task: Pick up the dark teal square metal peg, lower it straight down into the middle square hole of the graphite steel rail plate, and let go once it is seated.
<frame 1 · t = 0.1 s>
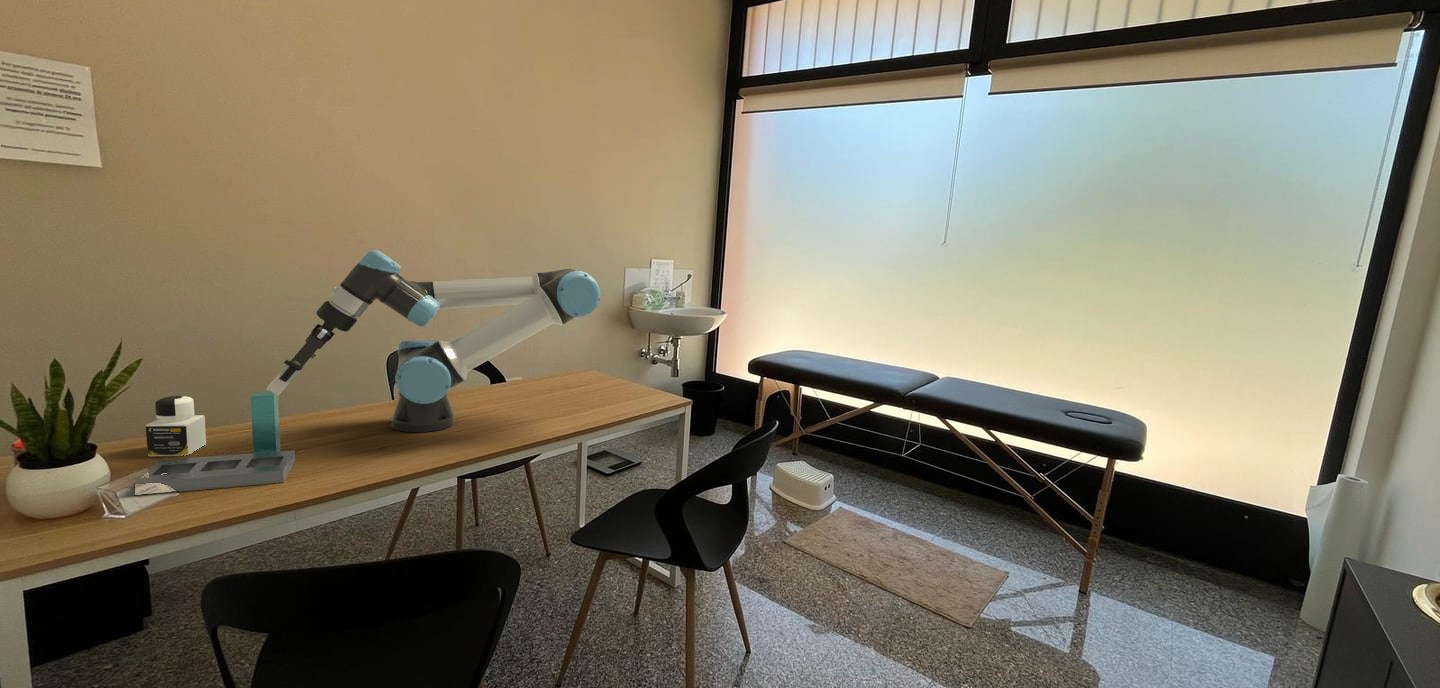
hand: (278, 384, 129), 15 cm above the table, tool tilted 35°, fingers open, 13 cm apart
peg: (267, 454, 128), on the table
rail: (222, 477, 116), on the table
medicine bottle: (178, 451, 127), on the table
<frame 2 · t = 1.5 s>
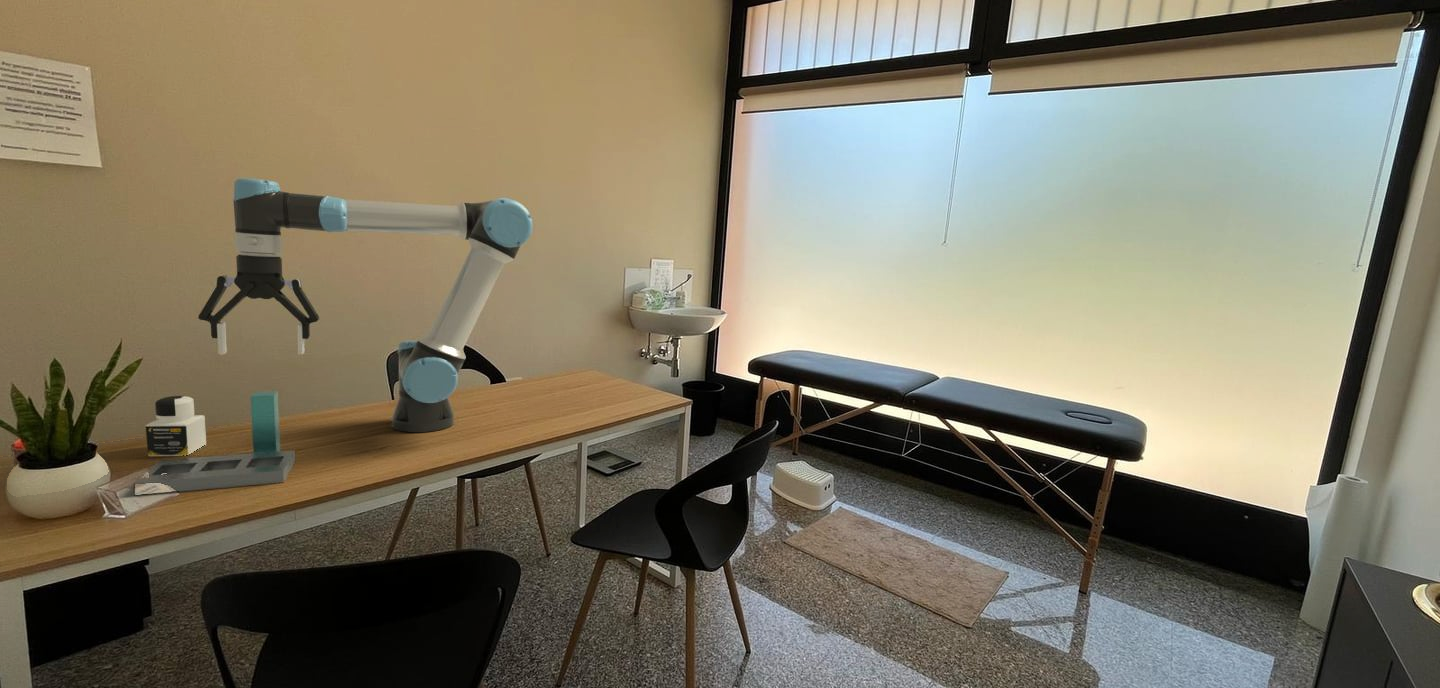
hand: (263, 353, 125), 23 cm above the table, tool pointing down, fingers open, 13 cm apart
nothing on the table moved.
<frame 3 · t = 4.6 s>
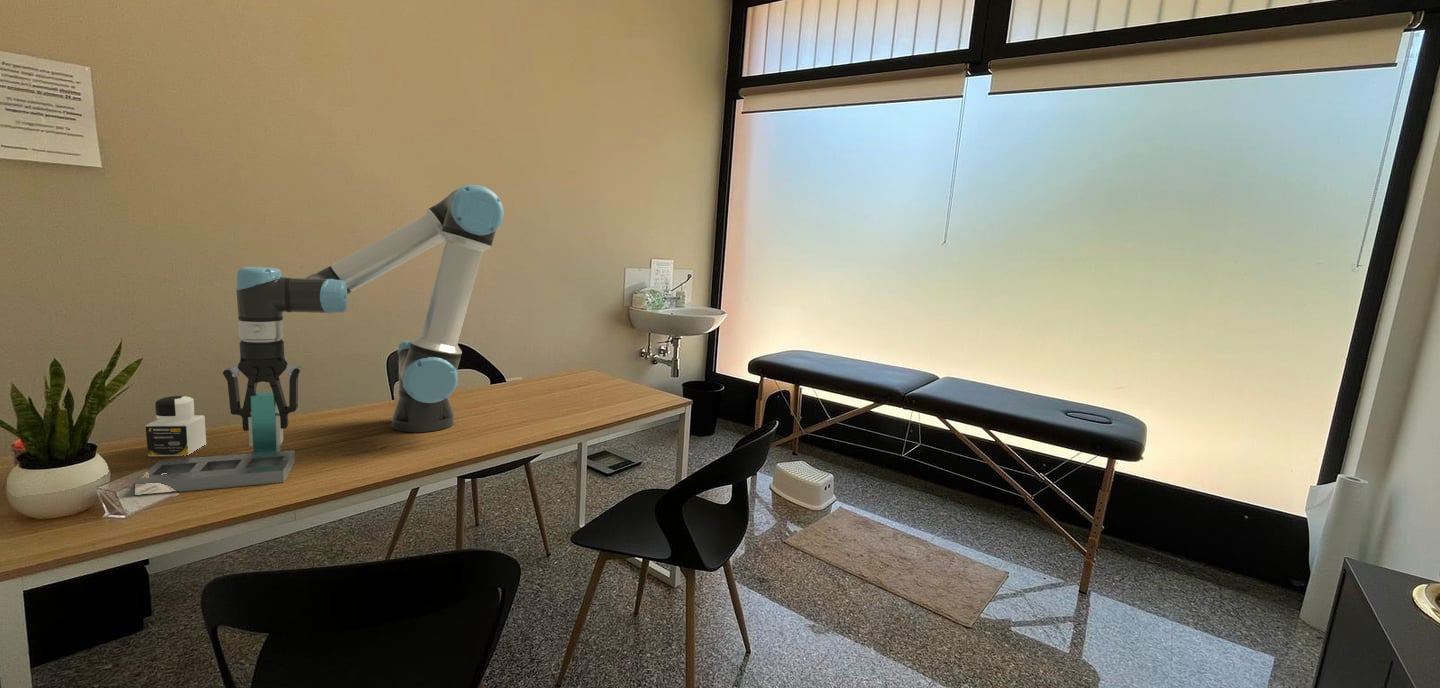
hand: (266, 443, 128), 3 cm above the table, tool pointing down, fingers closed on peg, 4 cm apart
peg: (267, 454, 128), on the table, touching gripper
everything else where it was.
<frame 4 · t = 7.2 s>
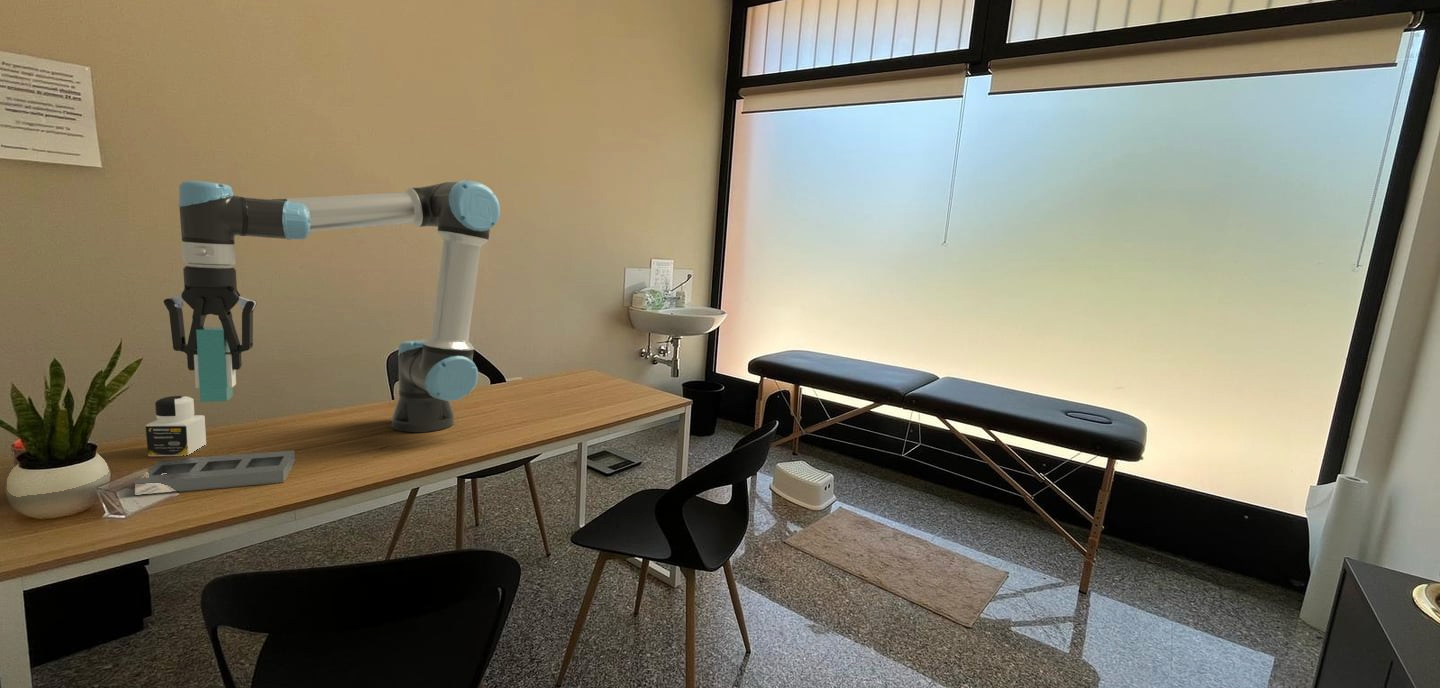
hand: (216, 385, 113), 19 cm above the table, tool pointing down, fingers closed on peg, 4 cm apart
peg: (217, 398, 113), point 16 cm above the table, touching gripper
everything else where it was.
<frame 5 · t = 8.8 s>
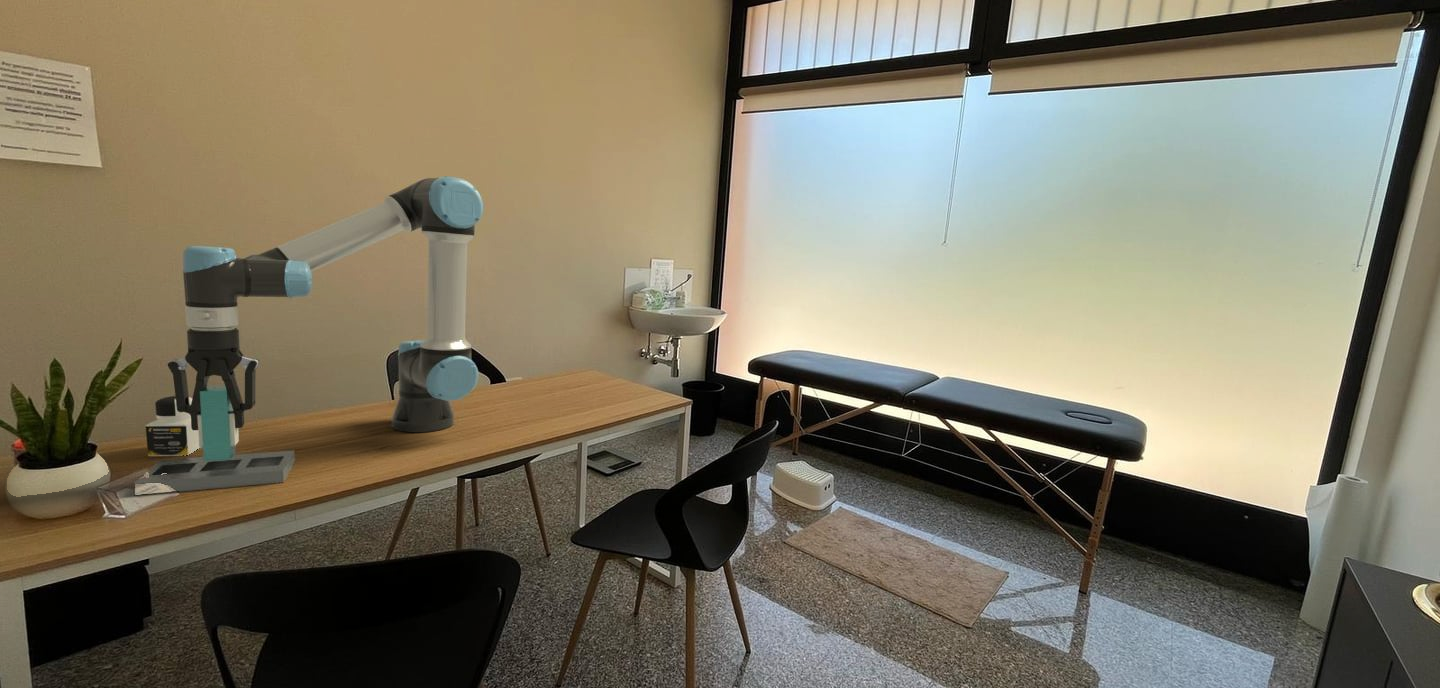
hand: (219, 444, 115), 7 cm above the table, tool pointing down, fingers closed on peg, 4 cm apart
peg: (220, 456, 115), point 4 cm above the table, touching gripper
everything else where it was.
when the fingers open (4 cm above the table, at t = 9.9 s): peg drops 1 cm, resting in rail.
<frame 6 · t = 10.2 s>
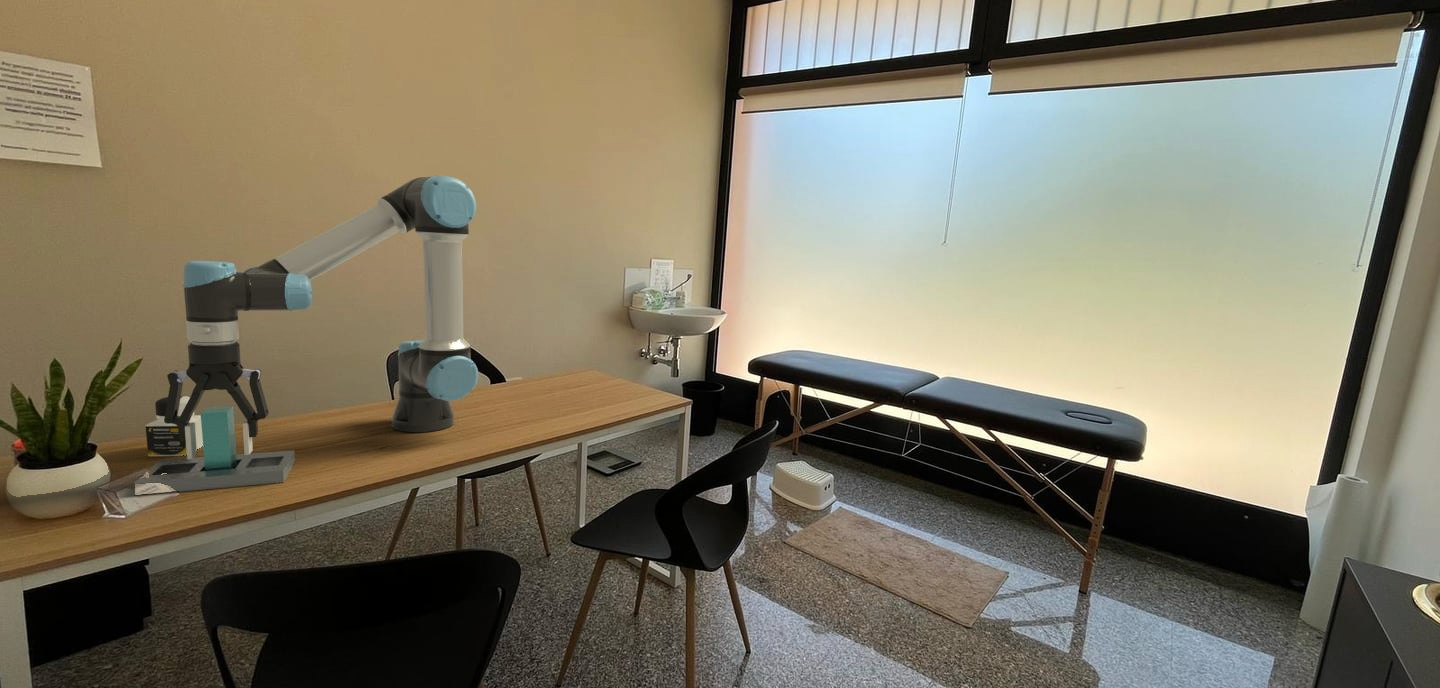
hand: (220, 454, 115), 5 cm above the table, tool pointing down, fingers open, 8 cm apart
peg: (222, 477, 116), resting in rail
everything else where it was.
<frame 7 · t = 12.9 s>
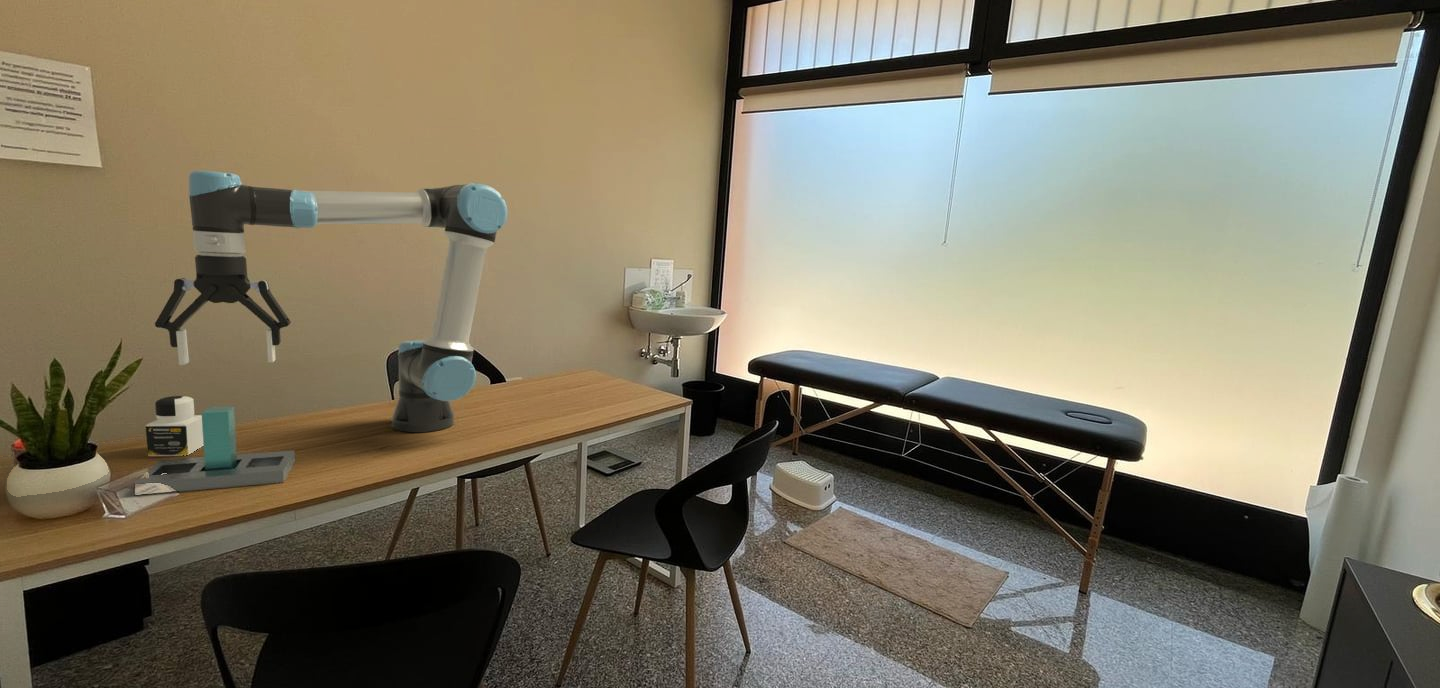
hand: (229, 362, 115), 23 cm above the table, tool pointing down, fingers open, 13 cm apart
nothing on the table moved.
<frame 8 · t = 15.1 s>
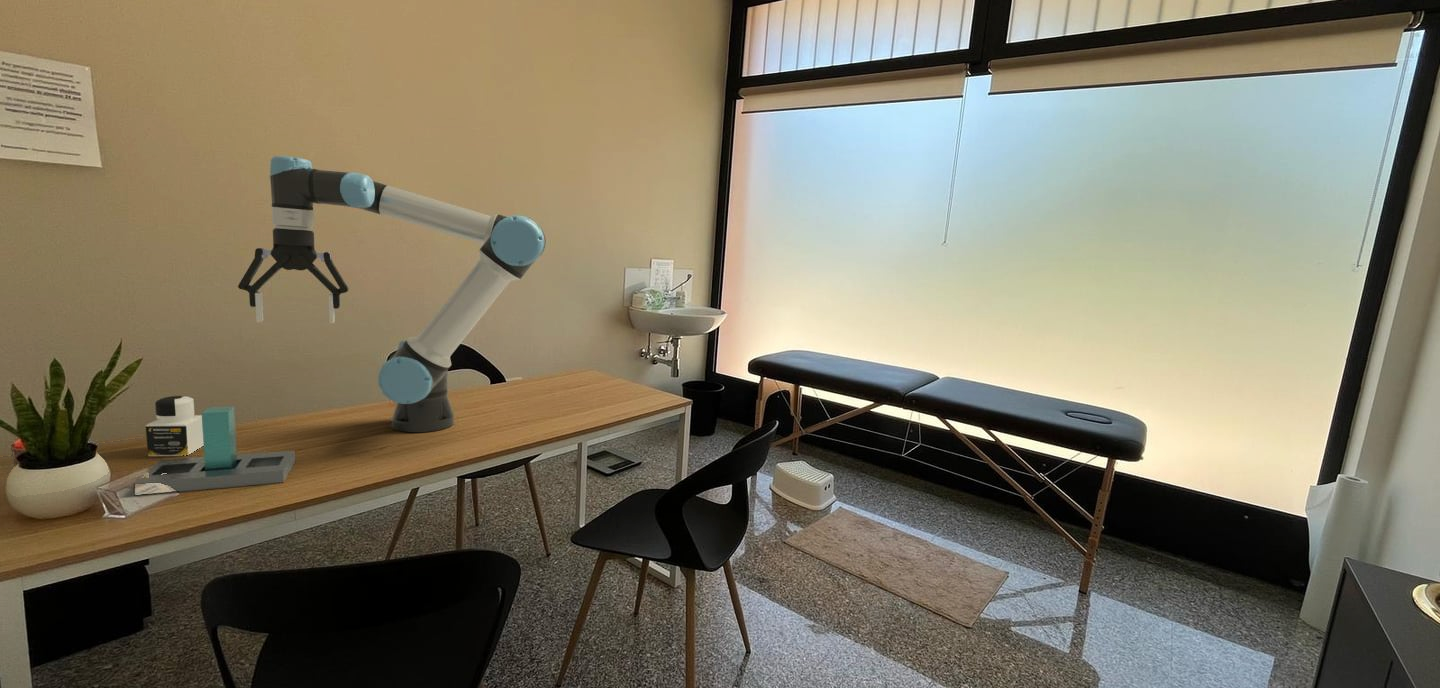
hand: (296, 322, 133), 29 cm above the table, tool pointing down, fingers open, 13 cm apart
nothing on the table moved.
at the end: peg 0.0 cm off-centre on the rail, point 0.0 cm above the rail's base; peg tilted 0°; the gripper is holding nothing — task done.
